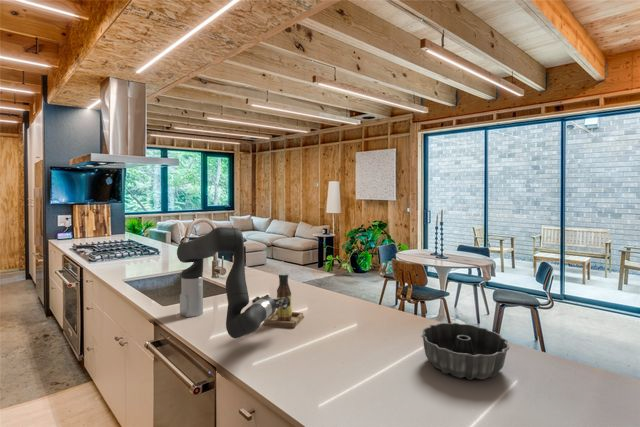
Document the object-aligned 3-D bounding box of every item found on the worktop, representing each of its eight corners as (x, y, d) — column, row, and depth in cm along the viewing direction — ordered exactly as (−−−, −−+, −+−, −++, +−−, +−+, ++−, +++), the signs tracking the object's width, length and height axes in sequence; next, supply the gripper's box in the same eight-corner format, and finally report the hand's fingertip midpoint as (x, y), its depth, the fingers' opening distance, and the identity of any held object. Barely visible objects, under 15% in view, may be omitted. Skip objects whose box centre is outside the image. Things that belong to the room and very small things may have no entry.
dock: (294, 328, 153) (294, 323, 153) (263, 324, 157) (263, 320, 156) (304, 317, 167) (304, 312, 167) (275, 314, 170) (275, 310, 170)
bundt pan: (503, 397, 102) (504, 362, 102) (410, 372, 116) (411, 341, 116) (511, 361, 125) (513, 332, 124) (433, 344, 139) (433, 317, 138)
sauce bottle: (294, 318, 163) (294, 273, 162) (287, 322, 157) (287, 276, 156) (281, 316, 166) (281, 272, 165) (274, 320, 160) (274, 274, 159)
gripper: (280, 300, 135) (294, 289, 151) (244, 298, 138) (261, 287, 154) (280, 321, 135) (294, 308, 151) (244, 317, 139) (261, 305, 154)
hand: (277, 297), depth 152 cm, fingers open, 8 cm apart
